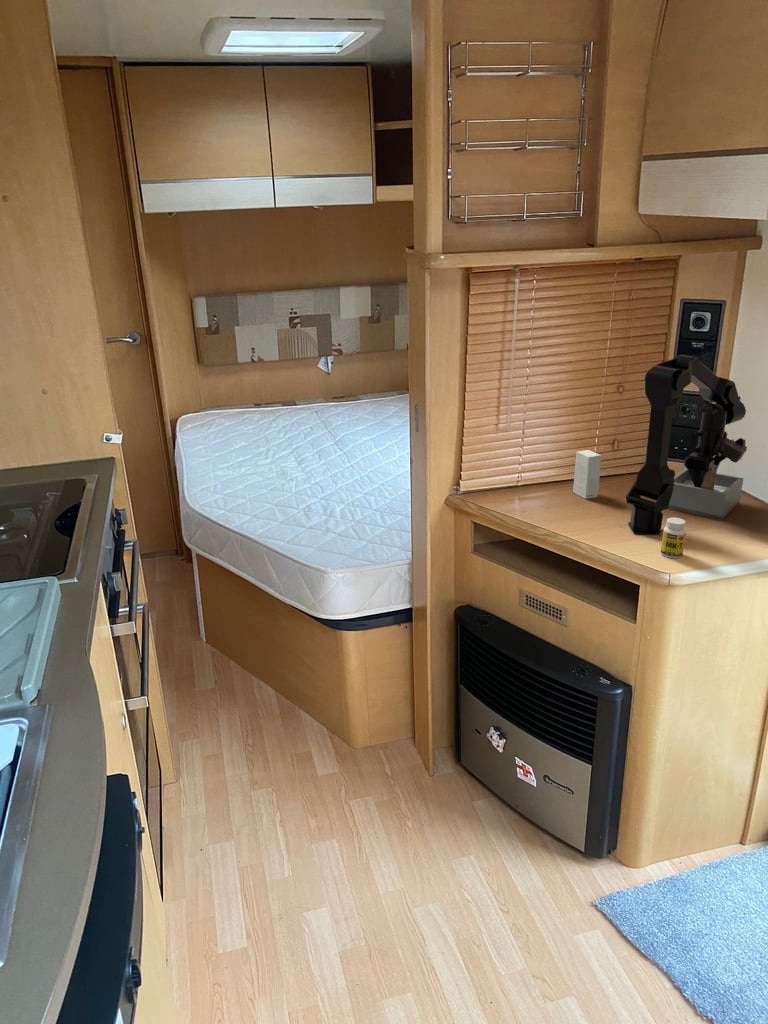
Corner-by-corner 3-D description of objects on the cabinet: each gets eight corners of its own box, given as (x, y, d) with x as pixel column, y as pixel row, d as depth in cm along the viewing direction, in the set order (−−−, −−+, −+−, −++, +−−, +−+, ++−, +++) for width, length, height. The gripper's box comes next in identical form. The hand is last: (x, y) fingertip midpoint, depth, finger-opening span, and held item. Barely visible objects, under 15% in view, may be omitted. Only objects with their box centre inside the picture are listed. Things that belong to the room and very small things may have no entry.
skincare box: (598, 497, 212) (602, 455, 207) (585, 499, 210) (588, 457, 206) (585, 490, 217) (588, 449, 213) (572, 492, 216) (575, 451, 211)
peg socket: (720, 520, 196) (725, 494, 193) (662, 507, 205) (665, 481, 202) (739, 503, 206) (743, 478, 204) (682, 491, 215) (686, 467, 213)
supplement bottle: (662, 558, 176) (666, 524, 173) (658, 549, 180) (663, 516, 177) (684, 559, 175) (689, 525, 172) (680, 550, 179) (685, 517, 176)
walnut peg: (707, 505, 202) (712, 469, 199) (691, 502, 205) (696, 466, 201) (712, 501, 205) (717, 465, 202) (696, 497, 208) (701, 462, 204)
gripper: (734, 441, 186) (724, 502, 192) (756, 425, 200) (746, 482, 205) (687, 434, 193) (679, 493, 199) (712, 418, 206) (704, 474, 212)
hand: (703, 485), depth 203 cm, fingers open, 9 cm apart
